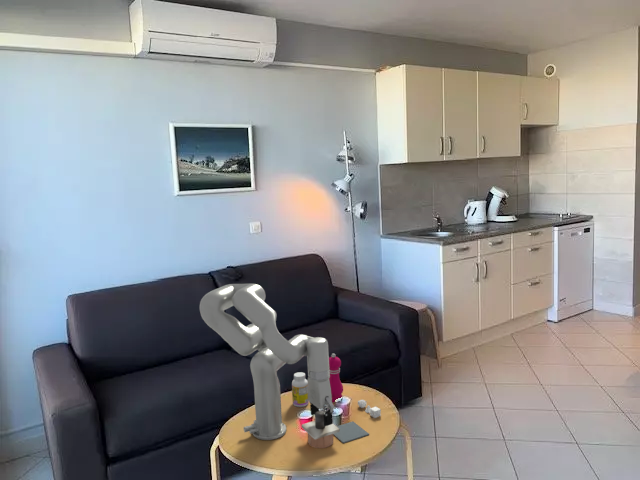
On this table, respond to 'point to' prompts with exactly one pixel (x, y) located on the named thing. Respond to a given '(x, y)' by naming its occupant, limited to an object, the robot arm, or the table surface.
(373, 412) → the game pieces
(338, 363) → the pepper mill
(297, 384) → the supplement bottle
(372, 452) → the table surface
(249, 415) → the table surface
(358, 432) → the mat
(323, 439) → the bowl
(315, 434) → the lid
